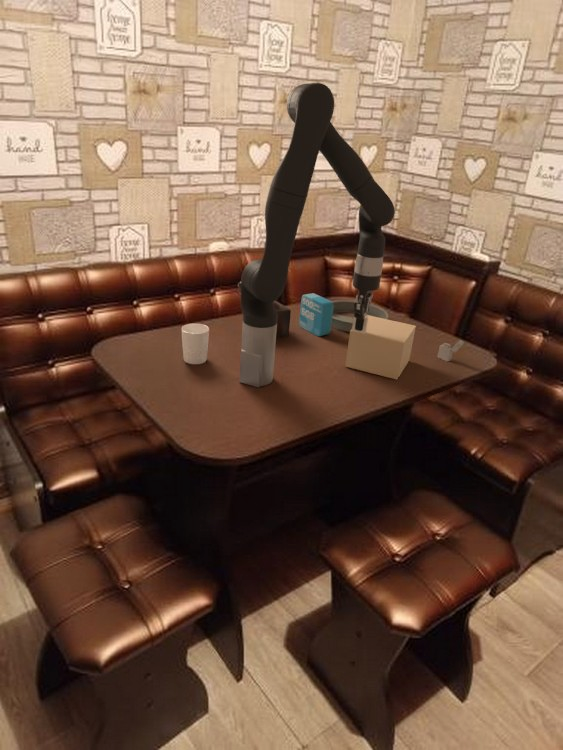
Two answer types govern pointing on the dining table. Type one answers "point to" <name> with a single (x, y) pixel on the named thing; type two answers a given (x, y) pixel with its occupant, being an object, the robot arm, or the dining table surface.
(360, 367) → the beige wooden slab
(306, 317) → the data package
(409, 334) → the carton
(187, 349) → the white cup
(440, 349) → the lighter
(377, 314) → the cake pan
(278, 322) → the pepper mill
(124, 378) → the dining table surface
